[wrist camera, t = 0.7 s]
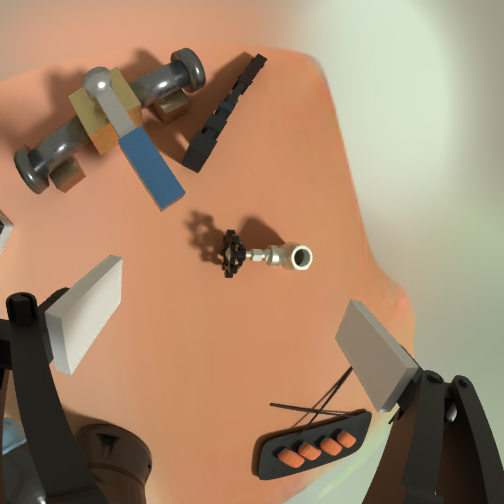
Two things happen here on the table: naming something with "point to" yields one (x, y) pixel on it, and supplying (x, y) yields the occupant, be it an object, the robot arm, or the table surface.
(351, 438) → the sushi plate
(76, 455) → the robot arm
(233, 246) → the valve
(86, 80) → the lever
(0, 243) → the tea box
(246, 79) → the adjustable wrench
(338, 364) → the table surface
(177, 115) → the pipe run
